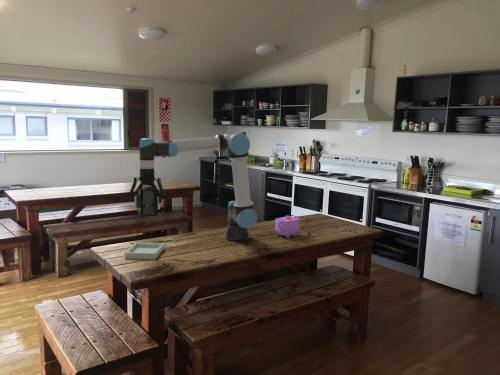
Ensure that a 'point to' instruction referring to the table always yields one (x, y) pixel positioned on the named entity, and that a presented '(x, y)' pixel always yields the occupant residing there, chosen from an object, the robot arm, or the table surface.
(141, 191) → the tampon box
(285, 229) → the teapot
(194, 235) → the table surface
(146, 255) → the tray
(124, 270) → the table surface
